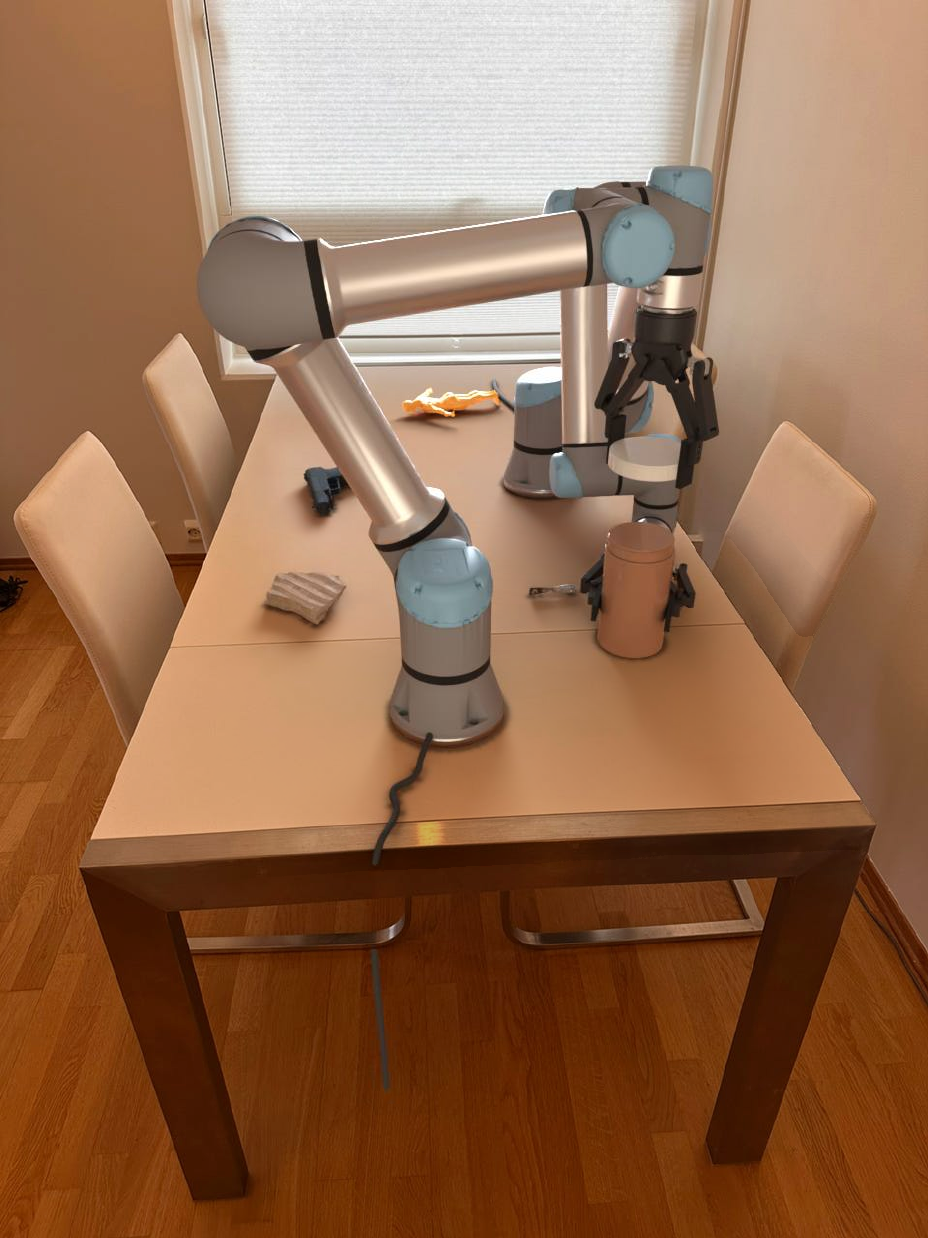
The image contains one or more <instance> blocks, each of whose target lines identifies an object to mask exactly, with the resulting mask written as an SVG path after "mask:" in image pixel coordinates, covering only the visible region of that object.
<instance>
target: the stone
mask: <svg viewBox="0 0 928 1238" xmlns="http://www.w3.org/2000/svg"><path fill="white" fill-rule="evenodd" d="M346 589H347V585H346V583H345V582H343V580H341V579H340V575H332V574H329V573H326V572H320V571H318V572H315V571H314V572H308V573H306V572H300V571H289V572H287V573H281V572H279V573H277V574H275V576H274V579H273V581H272V584H271V587H270V590H268V591H267V592H266V594H265V597H266V600H265V604H266V605H267V606H268V605H269V606H271V607H275V608H278V609H281V610H282V611H289V612H292V613H296V614H297V615H299V616H301V617H302V618H304V619H305V620H307V621H309V622H311V623H312V624H315V625H319V624H320V622H321V621H323V620H324V619H325V618H326V615H327V612H328V611H329V609H330V607H332V606H333V605H334V603H335V602H336V601H338V600H339V599H340V598H341V596H342V595H343V593H344V591H345V590H346Z"/></svg>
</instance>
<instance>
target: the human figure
mask: <svg viewBox="0 0 928 1238" xmlns="http://www.w3.org/2000/svg"><path fill="white" fill-rule="evenodd" d="M424 391H425V392H423V393H422V394H420V395H418V396H416V398H415V399H414V400H404V401H403V402H402V411H404V412H405V413H410V414H412V413H414V412H417V408H418V409H420V410H421V411H423V412H424V413H427V414H439V415H443V416H444V417H449V416H450V417H451V418H452V417H453V418H454V417H455V416H456V414H455V411H462V410H464V409H467V408H469V407H471V406H473V405H476V404H478V403H481V402H484V401H488V400H493V402H494V403H495V404H496V405H497V406H500V397H499V395H498V393H497V392H495V390H494V389H493V390H491V391H478V390H473V391H470V392H469V393H468V394H460V393H457V394H455V393H453V392H446V393H444V394H443V395H442V396H441V397H440V398H434V397H429V396H430V395H432V394H433V392H434V391H433V389H432V385H429V387H428V389H424ZM450 410H452V411H450Z"/></svg>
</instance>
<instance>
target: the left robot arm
mask: <svg viewBox="0 0 928 1238" xmlns="http://www.w3.org/2000/svg"><path fill="white" fill-rule="evenodd" d="M647 177H648V178H647V180H646V181H647V182H646V186H640V187H634V188H593V187H579V186H574V187H572V188H559V189H554V190H551V191H550V192H549V193H548V195H547V197H546V199H545V202H544V206H543V211H542V214H541V215H535V216H530V217H529V216H528V217H523V218H516V219H509V220H503V221H497V222H491V223H484V224H477V225H470V226H464V227H457V228H451V229H445V230H444V229H443V230H437V231H432V232H424V233H418V234H412V235H411V234H410V235H405V236H399V237H398V236H397V237H393V238H392V237H391V238H385V239H380V240H373V241H366V242H361V243H360V242H359V243H353V244H345V245H341V246H332V245H330V244H328V242H326V241H324V240H323V239H322V238H313V239H307V240H302V239H301V237H300V236H299V234H297V233H296V232H295V231H293V229H292V228H290V227H289V226H288V225H286V224H285V223H283V222H281V221H279V220H277V219H275V218H272V217H268V216H264V215H248V216H243V217H239V218H237V219H235V220H232V221H231V222H229V223H227V224H226V225H225V226H224V227H222V228H220V229H219V230H218V231H217V232H216V233H215V234H214V236H213V237H212V239H211V240H210V242H209V245H208V247H207V250H206V253H205V255H204V256H203V258H202V260H201V262H200V265H199V267H198V271H197V277H196V293H197V300H198V303H199V306H200V309H201V311H202V313H203V315H204V317H205V319H206V320H207V321H208V323H209V325H210V326H211V327H212V328H213V329H214V330H215V331H216V332H217V333H218V334H219V335H220V336H221V337H222V338H224V339H225V340H226V341H229V342H231V343H233V344H234V345H237V346H240V347H243V348H244V349H245V350H246V352H247V353H248V355H249V356H250V358H251V359H252V361H253V362H254V363H256V364H260V365H264V366H269V367H271V368H273V370H274V371H275V373H276V374H277V376H278V377H279V379H280V381H281V382H282V384H283V386H284V387H285V388H286V391H287V392H288V393H289V395H290V396H291V398H292V399H293V401H294V402H295V404H296V406H297V407H298V409H299V410H300V412H301V413H302V415H303V417H304V418H305V419H306V421H307V422H308V423H309V426H310V428H311V429H312V430H313V432H314V433H315V435H316V436H317V438H318V439H319V441H320V443H321V444H322V446H323V448H324V449H325V450H326V452H327V454H328V455H329V456H330V457H329V458H331V461H333V463H334V465H335V466H336V467H338V469H339V471H340V472H341V474H342V475H343V477H344V478H345V480H346V481H347V483H348V484H349V486H348V487H350V490H351V491H352V492H353V494H354V495H355V497H356V498H357V500H358V502H359V503H360V505H361V506H362V508H363V509H364V511H365V513H366V514H367V516H368V517H369V518H370V520H371V522H370V525H369V529H368V538H369V539H370V541H371V542H372V544H373V545H374V547H375V549H376V550H377V552H378V553H379V555H380V556H381V558H382V560H383V561H384V563H385V564H386V565H387V567H388V569H389V570H390V572H391V574H392V577H393V583H394V590H395V597H396V603H397V609H398V618H399V633H400V634H399V635H400V652H401V653H400V655H401V667H400V669H399V672H398V675H397V678H396V681H395V684H394V687H393V690H392V693H391V696H390V704H389V705H390V718H391V721H392V724H393V725H394V727H395V728H396V729H397V731H398V732H399V733H400V734H402V735H403V736H404V737H406V738H407V739H409V740H411V741H413V742H415V743H417V744H420V745H421V744H422V746H421V747H420V750H419V754H418V756H417V761H416V764H415V768H414V770H413V772H412V773H411V774H410V775H409V776H408V777H406V778H404V779H402V780H400V781H397V782H396V783H394V784H393V785H392V786H391V787H390V789H389V792H388V797H389V800H390V803H391V805H392V812H391V816H390V818H389V820H388V821H387V823H386V825H385V826H384V827H383V829H382V831H381V832H380V834H379V836H378V838H377V840H376V843H375V846H374V849H373V853H372V857H371V865H372V866H377V865H378V864H379V863H380V859H381V854H382V851H383V848H384V845H385V842H386V840H387V839H388V836H389V835H390V833H392V832H391V831H392V830H393V828H394V827H395V826H396V824H397V822H398V820H399V817H400V812H401V807H400V806H401V805H400V802H399V799H398V797H397V792H398V791H399V790H400V789H402V788H404V787H407V786H409V785H410V784H412V783H414V782H415V781H416V780H417V779H418V778H419V776H420V774H421V773H422V771H423V766H424V762H425V759H426V757H427V753H428V750H429V748H430V747H437V748H454V747H455V748H457V747H463V746H467V745H471V744H473V743H476V742H480V741H481V740H483V739H485V738H486V737H488V736H489V735H491V734H492V733H493V732H494V731H495V730H496V729H498V727H499V726H500V724H501V722H502V720H503V717H504V697H503V693H502V690H501V687H500V685H499V682H498V679H497V677H496V674H495V672H494V668H493V666H492V664H491V654H492V653H491V651H492V649H491V648H492V647H491V645H492V643H491V642H492V641H491V640H492V597H493V594H494V593H493V592H494V590H493V589H494V580H493V575H492V570H491V565H490V562H489V560H488V558H487V557H486V555H485V554H484V553H483V552H482V551H481V550H480V549H479V548H477V547H476V546H474V545H473V541H472V539H471V537H472V535H471V533H470V530H469V528H468V526H467V524H466V522H465V521H464V519H463V518H462V517H461V516H460V515H459V514H458V513H457V512H456V511H455V510H454V509H453V508H452V506H451V504H450V502H449V501H448V499H447V498H446V495H445V494H444V493H443V492H442V490H440V489H438V488H435V487H429V486H427V485H426V483H425V482H424V480H423V479H422V477H421V476H420V474H419V472H418V470H417V469H416V467H415V465H414V463H413V462H412V460H411V458H410V456H409V455H408V453H407V452H406V450H405V448H404V447H403V444H402V442H401V441H400V439H399V438H398V436H397V435H396V433H395V431H394V429H393V428H392V426H391V424H390V423H389V420H388V419H387V417H386V416H385V414H384V413H383V411H382V409H381V407H380V405H379V404H378V402H377V401H376V399H375V396H373V394H372V392H371V391H370V389H369V387H368V385H367V384H366V382H365V380H364V378H363V377H362V375H361V374H360V372H359V370H358V367H356V365H355V364H354V362H353V359H352V358H351V356H350V354H349V353H348V351H347V350H346V348H345V346H344V345H343V343H342V341H341V340H340V338H339V337H341V335H342V333H343V332H344V330H345V329H346V328H347V327H348V326H352V325H358V324H364V323H371V322H377V321H382V320H389V319H394V318H401V317H407V316H413V315H420V314H426V313H432V312H438V311H445V310H450V309H456V308H463V307H469V306H475V305H480V304H486V303H487V304H488V303H493V302H499V301H506V300H512V299H518V298H525V297H531V296H536V295H544V294H549V293H554V292H560V291H562V290H568V289H574V288H580V287H587V286H596V285H602V284H607V285H608V284H615V285H616V286H618V287H619V286H624V287H629V288H638V293H637V302H638V303H639V304H640V306H639V307H638V308H637V309H636V311H635V321H634V332H633V334H634V337H635V341H634V343H633V342H631V340H630V339H628V338H626V339H623V340H619V341H616V342H614V343H613V347H612V359H611V361H610V364H609V367H608V369H607V372H606V374H605V377H604V379H603V382H602V385H601V387H600V390H599V392H598V395H597V398H596V400H595V403H594V406H595V408H596V409H601V410H602V411H603V412H604V413H605V416H606V422H605V438H608V446H607V457H606V464H608V458H609V449H610V446H611V445H612V444H613V443H614V442H616V441H618V440H621V439H625V435H626V434H625V426H626V416H627V415H624V414H621V415H619V414H620V413H621V412H623V411H625V410H623V409H624V408H625V406H626V405H627V404H628V402H629V401H630V400H631V398H632V397H633V395H634V394H635V393H636V391H637V390H638V389H639V387H640V386H641V385H642V383H643V382H644V381H652V382H654V383H656V384H658V385H661V386H665V390H666V392H667V393H669V394H670V395H671V396H670V397H671V398H672V401H673V404H674V407H675V409H676V412H677V414H678V417H679V420H680V422H681V425H682V428H683V431H684V433H685V435H686V438H684V439H681V447H680V455H679V462H678V470H677V478H676V485H675V488H677V489H680V490H682V489H684V488H686V487H688V486H690V485H692V484H693V477H694V472H695V471H694V469H695V465H697V464H699V463H700V461H701V459H702V452H703V445H704V442H708V441H710V440H711V439H714V438H716V437H718V436H719V435H720V429H719V420H718V415H717V407H716V400H715V393H714V387H713V380H712V374H713V369H714V368H713V367H714V360H713V357H709V356H708V357H705V358H701V357H696V356H694V355H693V352H692V344H693V341H694V339H695V334H696V325H697V319H698V311H697V310H696V307H697V306H698V305H699V304H700V298H701V297H700V296H701V290H702V281H703V273H704V262H705V257H704V255H705V249H706V242H707V236H708V229H709V222H710V216H711V217H712V213H713V199H714V175H713V173H712V171H710V169H708V168H706V167H703V166H698V165H683V164H681V165H676V164H675V165H673V164H672V165H658V166H654V167H653V168H651V169H650V171H649V173H648V176H647ZM632 355H633V358H634V360H635V362H636V365H635V366H634V367H633V369H632V370H631V372H630V373H629V374H628V378H627V380H626V381H625V382H624V384H623V385H622V387H621V388H620V389H619V391H618V392H617V389H618V387H619V384H620V382H621V379H622V377H623V374H624V372H625V369H626V367H627V364H628V362H629V359H630V357H631V356H632ZM688 368H689V375H690V376H691V381H690V377H689V375H688V371H687V369H688ZM677 381H678V382H677ZM691 384H692V386H691V387H692V390H691V388H690V385H691ZM692 391H693V394H692ZM616 392H617V393H616ZM615 394H616V395H615ZM622 410H623V411H622ZM370 957H371V958H370V960H371V973H372V974H371V975H372V985H373V986H372V987H373V997H374V1005H375V1006H374V1007H375V1014H376V1025H377V1034H378V1044H379V1052H380V1063H381V1073H382V1086H383V1088H382V1089H383V1090H384V1091H389V1090H390V1088H391V1087H390V1074H389V1059H388V1050H387V1040H386V1031H385V1022H384V1021H385V1020H384V1012H383V1011H384V1009H383V1000H382V988H381V978H380V977H381V976H380V963H379V960H380V959H379V949H376V948H370Z"/></svg>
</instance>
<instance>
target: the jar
mask: <svg viewBox="0 0 928 1238" xmlns="http://www.w3.org/2000/svg"><path fill="white" fill-rule="evenodd" d="M675 540H676V538H675V535H674V534H672V533H671V532H670V531H669V530H668V529H666V528H664V527H662V526H659V525H656V524H652V523H647V522H631V521H628V522H621V523H619V524H615V526H613V527H612V528H610V530H609V532H608V534H607V541H606V542H605V545H604V553H605V555H604V567H603V578H602V589H601V600H600V609H599V612H598V623H597V625H598V626H597V636H596V637H597V638H596V640H597V642H598V645H600V647H601V648H602V649H603V650H605V651H606V652H608V653H610V654H612V655H615V656H618V657H621V658H622V657H623V658H626V659H627V658H628V659H641V658H648V657H650V656H653V655H655V654H657V653H659V651H660V650H661V649H662V648H663V645H664V637H665V632H664V626H665V619H666V613H667V607H668V602H669V594H670V587H671V580H672V581H673V576H672V572H673V566H674V565H675V558H676V547H675Z"/></svg>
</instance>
